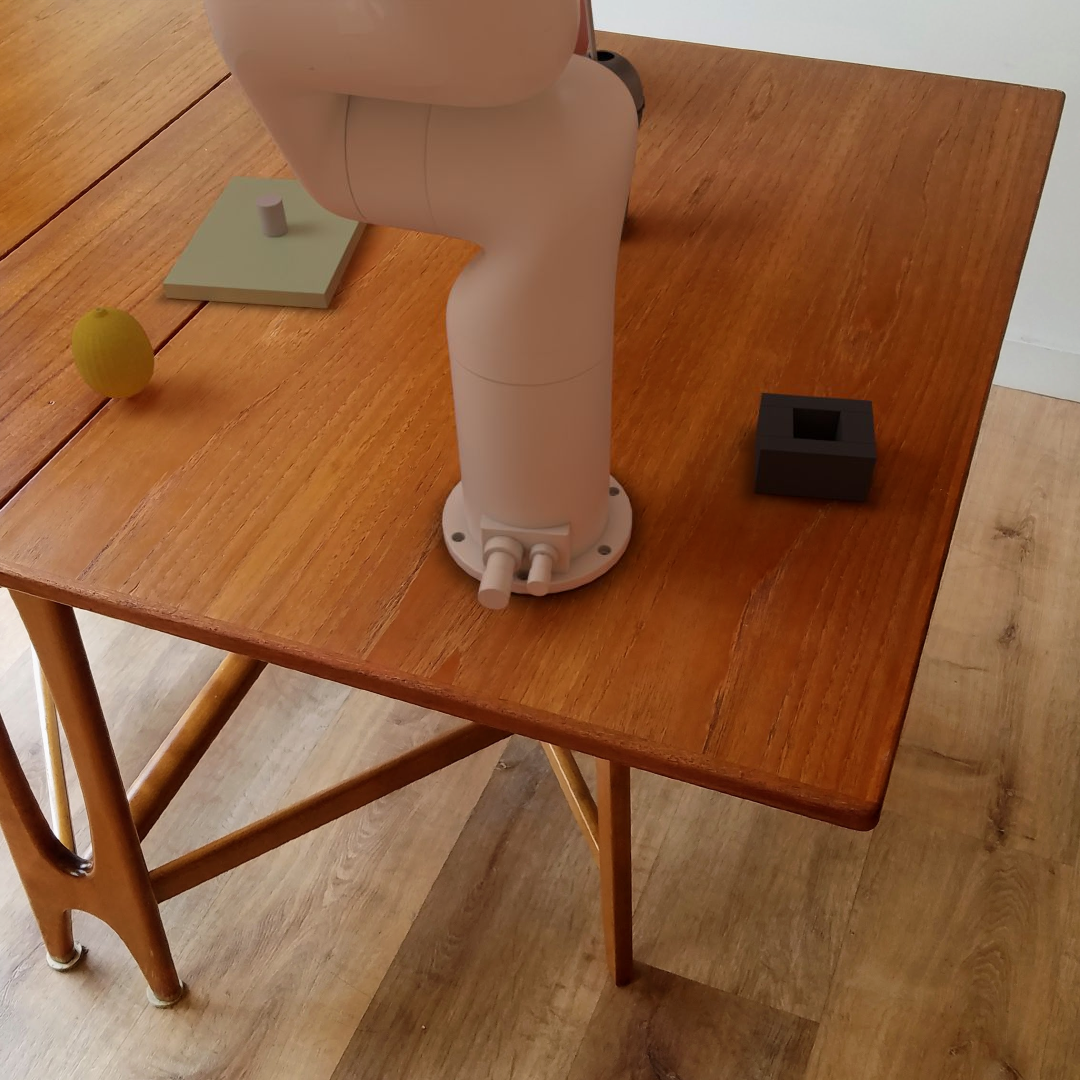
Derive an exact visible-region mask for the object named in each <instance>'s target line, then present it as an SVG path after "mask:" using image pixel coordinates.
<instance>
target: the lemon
mask: <svg viewBox="0 0 1080 1080" xmlns="http://www.w3.org/2000/svg"><path fill="white" fill-rule="evenodd" d="M71 350H72V351H71V352H72V357H73V362H74V365H75V367H76V369H77V371H78V373H79V375H80V377H81V378H82V380H83V382H84V383H85V385H87V386H88V387H89V388H90V389H91V390H93V391H94V392H95V393H97V394H99V395H101V396H104V397H106V398H110V399H116V400H117V399H126V400H127V399H128V400H129V399H131V398H133V397H134V396H135V395H137V394H139V393H140V392H142V391H143V390H144V389H145V388H146V387H147V385H149V383H150V381H151V379H152V377H153V375H154V371H155V352H154V349H153V345H152V343H151V340H150V338H149V336H148V334H147V332H146V330H145V329H144V327H143V326H142V324H141V323H140V322H139V321H138V320H137V319H136V318H135V316H133V315H132V314H130V313H129V312H127V311H125V310H123V309H120V308H116V307H108V306H102V307H101V306H97V307H95V308H93V309H91V310H89V311H87V312H86V313H85V314H83V315H82V316H81V317H80V318H79V320H78V321H77V322H76V323H75V325H74V327H73V332H72V334H71Z"/></svg>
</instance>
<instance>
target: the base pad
mask: <svg viewBox="0 0 1080 1080" xmlns="http://www.w3.org/2000/svg"><path fill="white" fill-rule="evenodd" d="M367 226H368V223H363V222H359V221H354V220H350V219H346V218H343V217H340V216H337V215H335V214H333V213H331V212H329V211H328V210H326V209H325V208H323V207H322V206H320V205H319V204H318V203H317V202H316V201H315V200H314V199H313V198H312V197H311V196H310V195H309V194H308V193H307V192H306V190H305V189H304V188H303V186H302V185H301V184H300V182H299V181H298V179H293V178H274V177H273V178H272V177H254V176H239V175H238V176H236V175H235V176H234V175H233V176H232V177H231V178H230V180H229V181H228V183H227V184H226V186H225V187H224V189H223V190H222V192H221V193H220V195H219V196H218V198H217V200H216V201H215V202H214V204H213V206H212V207H211V209H210V210H209V212H208V213H207V214H206V216H205V218H204V219H203V221H202V222H201V224H200V225H199V226H198V228H197V230H196V231H195V233H194V234H193V236H192V237H191V239H190V241H189V242H188V244H187V245H186V246H185V248H184V250H183V251H182V253H181V254H180V256H179V257H178V258H177V260H176V262H175V263H174V265H173V266H172V268H171V269H170V271H169V272H168V274H167V275H166V277H165V278H164V280H163V281H162V282H161V283H162V286H163V290H164V293H165V297H166V298H167V299H177V300H190V301H192V300H193V301H204V302H205V301H206V302H220V303H221V302H222V303H236V304H237V303H238V304H251V305H266V306H281V307H295V308H296V307H297V308H311V309H325V310H326V309H328V308H329V306H330V305H331V302H332V299H333V297H334V295H335V293H336V291H337V289H338V286H339V285H340V282H341V280H342V278H343V276H344V274H345V272H346V269H347V267H348V266H349V264H350V261H351V259H352V257H353V255H354V253H355V250H356V249H357V247H358V244H359V242H360V240H361V238H362V236H363V234H364V232H365V229H366V227H367Z"/></svg>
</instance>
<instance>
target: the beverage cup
mask: <svg viewBox="0 0 1080 1080" xmlns="http://www.w3.org/2000/svg"><path fill="white" fill-rule="evenodd" d="M585 9H586V18H587V27H588V37H589V45H588V47H589V52H588V51H587V53H586V54H585V55H583V57H586V58H589V59H591V60H593V61H596V62H598V63H599V64H601V65H603V66H605V67H606V68H608V69H609V70H611V71H612V72H613V73H614V74H616V75H617V76H618V77H619V78H620V79H621V80H622V82H623V83H624V84H625V85H626V87H627V88H628V90H629V92H630V94H631V96H632V98H633V101H634V104H635V107H636V111H637V117H638V131H639V130H640V127H641V123H642V119H643V112H644V109H645V108H646V99H645V96H644V89H643V82H642V80H641V76H640V75H639V73H638V71H637V69H636V68H635V67H634V65H633V64H632V63H631V62H630V60H629V59H628V58H626V57H625V56H623V55H622V54H620V53H618V52H616V51H613V50H607V49H597V43H596V34H595V25H594V24H595V23H594V17H593V16H594V13H593V7H592V0H585ZM630 195H631V191H630V192H629V196H628V201H627V206H626V211H625V217H624V222H623V227H622V233H621V235H622V234H623V233H624V231H625V227H626V226H625V225H626V220H627V215H628V210H629V203H630Z"/></svg>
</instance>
